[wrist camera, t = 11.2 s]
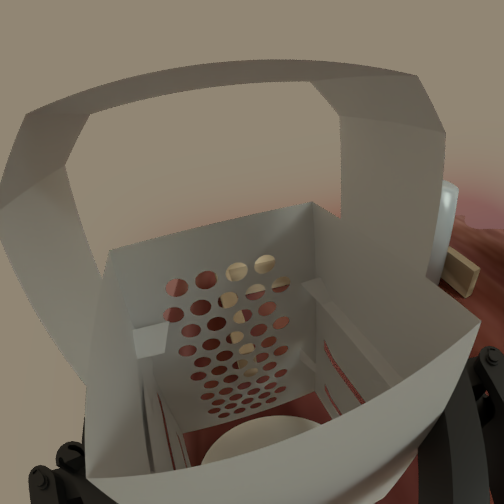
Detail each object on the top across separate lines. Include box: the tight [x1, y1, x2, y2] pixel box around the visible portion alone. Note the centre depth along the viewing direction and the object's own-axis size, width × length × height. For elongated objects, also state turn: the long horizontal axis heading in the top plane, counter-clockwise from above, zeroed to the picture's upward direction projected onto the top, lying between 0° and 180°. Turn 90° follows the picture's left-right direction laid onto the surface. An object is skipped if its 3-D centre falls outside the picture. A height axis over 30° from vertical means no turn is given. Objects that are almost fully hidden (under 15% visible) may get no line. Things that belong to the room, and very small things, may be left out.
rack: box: [215, 246, 480, 383], centre depth 31 cm, size 30×14×4 cm, turn 104°
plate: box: [201, 416, 320, 465], centre depth 15 cm, size 11×11×1 cm
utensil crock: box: [425, 180, 459, 286], centre depth 27 cm, size 7×7×20 cm
